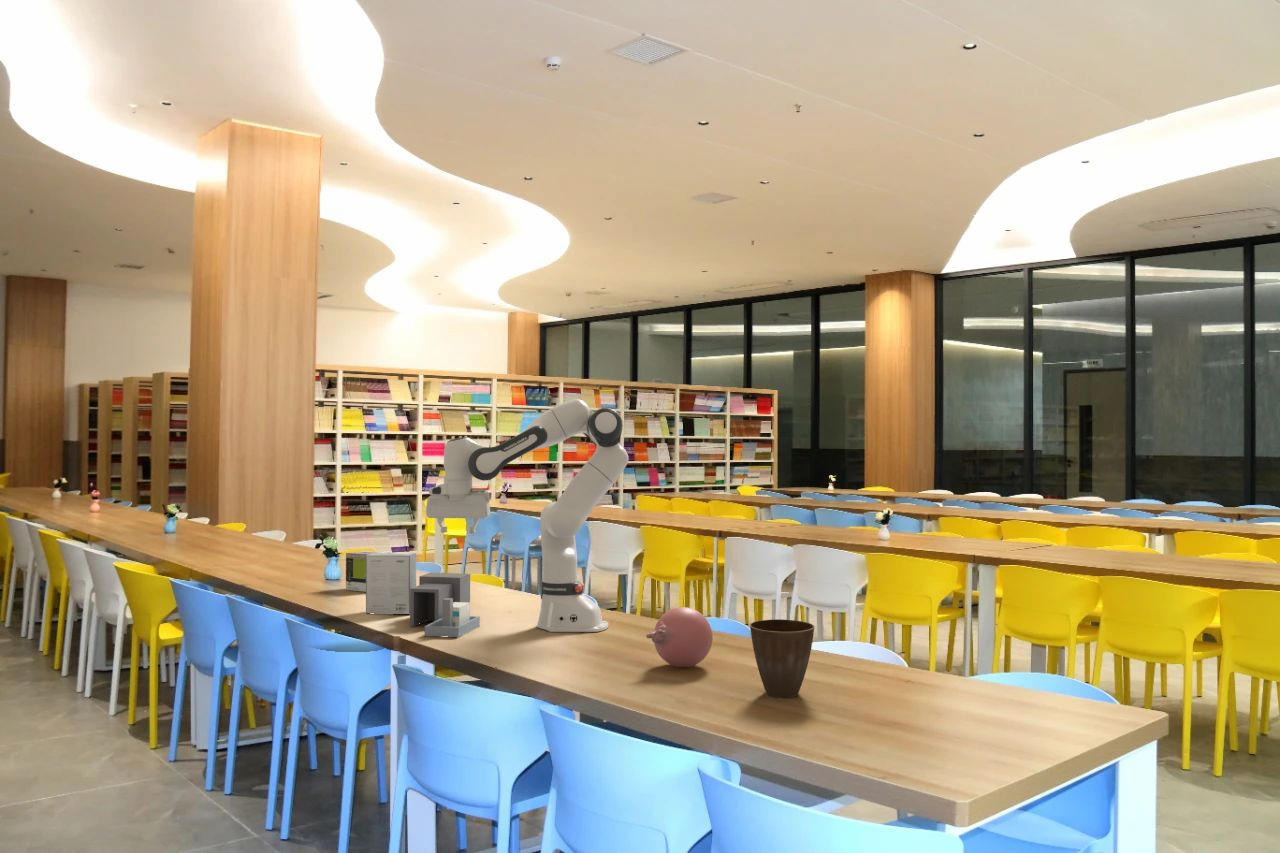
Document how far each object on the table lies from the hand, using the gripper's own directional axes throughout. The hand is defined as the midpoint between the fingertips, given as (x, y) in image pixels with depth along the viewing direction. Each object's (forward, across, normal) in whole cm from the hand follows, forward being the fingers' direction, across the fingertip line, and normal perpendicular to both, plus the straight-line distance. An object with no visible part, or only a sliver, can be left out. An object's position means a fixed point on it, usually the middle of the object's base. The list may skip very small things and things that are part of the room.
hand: (458, 532), depth 312 cm
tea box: (+29, +59, -64) cm, 92 cm away
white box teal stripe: (+29, -1, +7) cm, 30 cm away
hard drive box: (+29, +30, -18) cm, 46 cm away
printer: (+29, +10, -7) cm, 32 cm away
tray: (+29, -1, +9) cm, 31 cm away
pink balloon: (+30, -74, +44) cm, 92 cm away
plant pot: (+30, -102, +66) cm, 125 cm away
